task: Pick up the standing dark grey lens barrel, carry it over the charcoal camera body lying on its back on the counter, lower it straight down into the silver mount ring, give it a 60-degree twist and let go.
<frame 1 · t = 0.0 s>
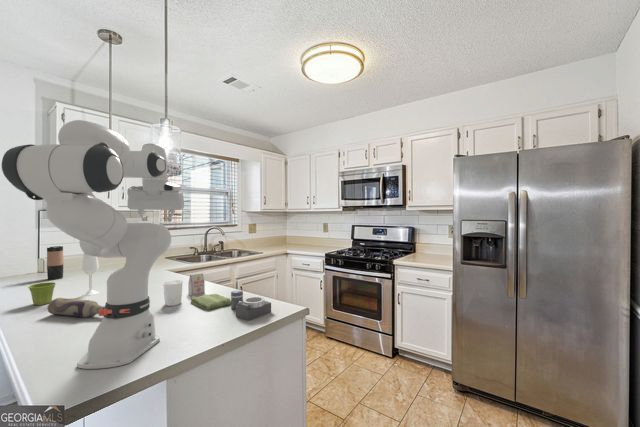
hand: (157, 220, 116), 39 cm above the counter, tool pointing down, fingers open, 8 cm apart
champagne flute: (90, 294, 149), on the counter
white cup: (173, 304, 133), on the counter
washcloth: (210, 304, 134), on the counter
lens: (237, 307, 128), on the counter
plant pot: (42, 303, 134), on the counter
travel mug: (55, 279, 182), on the counter
camera body: (253, 314, 120), on the counter
decorative bottle: (77, 317, 118), on the counter
white food carton: (196, 293, 150), on the counter
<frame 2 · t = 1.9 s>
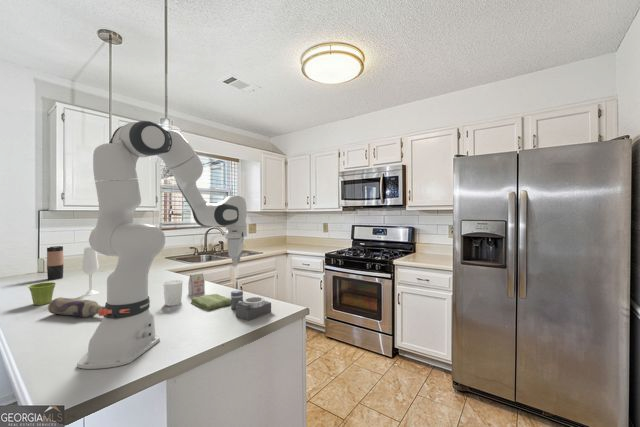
hand: (236, 263, 128), 19 cm above the counter, tool pointing down, fingers open, 8 cm apart
nothing on the counter moved.
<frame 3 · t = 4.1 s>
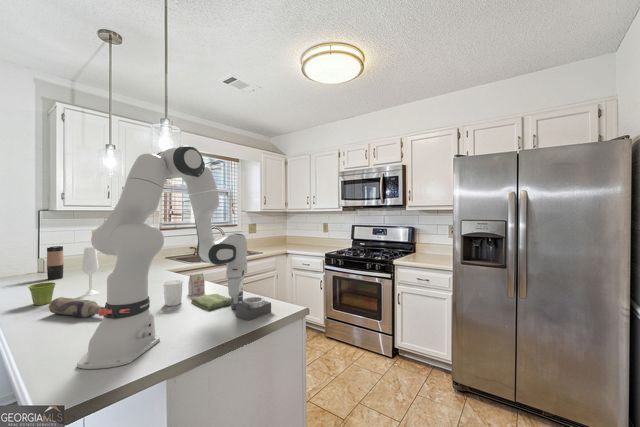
hand: (237, 300, 128), 3 cm above the counter, tool pointing down, fingers closed on lens, 5 cm apart
lens: (237, 307, 128), on the counter, touching gripper
everything else where it was.
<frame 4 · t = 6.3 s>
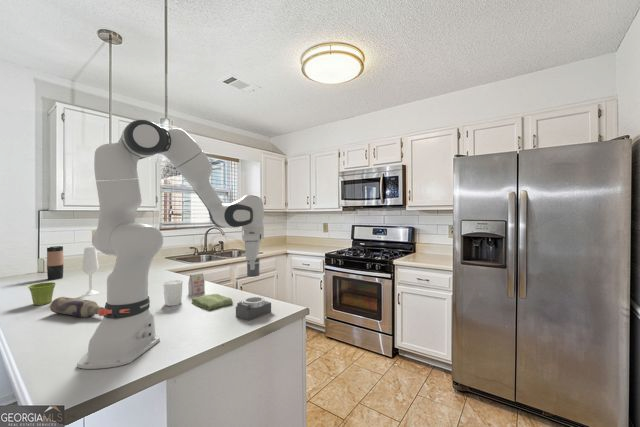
hand: (253, 267, 120), 19 cm above the counter, tool pointing down, fingers closed on lens, 5 cm apart
lens: (253, 275, 120), point 16 cm above the counter, touching gripper
everything else where it was.
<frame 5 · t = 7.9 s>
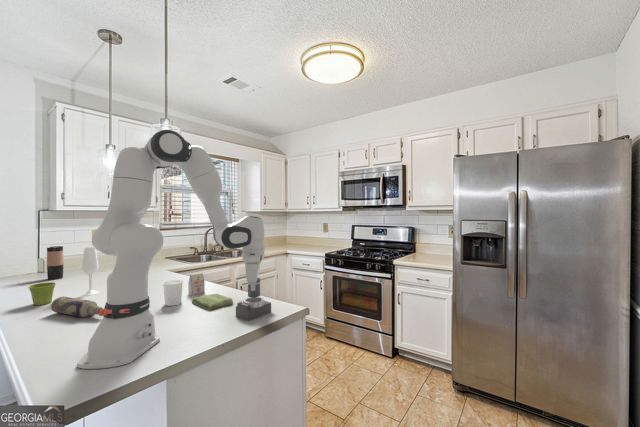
hand: (253, 288, 120), 11 cm above the counter, tool pointing down, fingers closed on lens, 5 cm apart
lens: (254, 295, 120), point 8 cm above the counter, touching gripper
everything else where it was.
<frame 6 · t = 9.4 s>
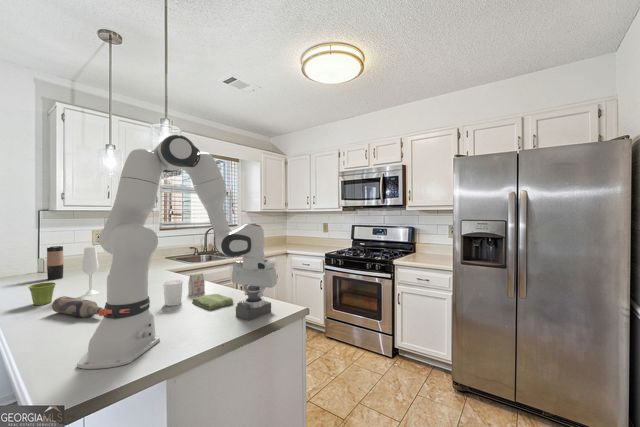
hand: (253, 295, 120), 8 cm above the counter, tool pointing down, fingers closed on lens, 5 cm apart
lens: (254, 303, 120), point 4 cm above the counter, touching gripper
when the fingers open (8 cm above the counter, at t = 9.4 s): lens stays where it is, resting on camera body.
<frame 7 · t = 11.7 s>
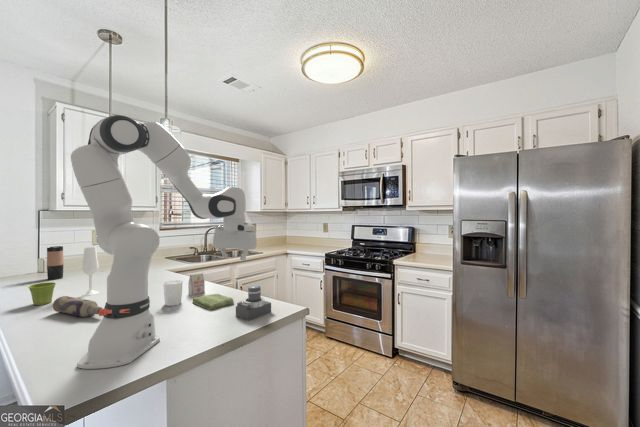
hand: (233, 259, 121), 23 cm above the counter, tool pointing down, fingers open, 8 cm apart
lens: (254, 304, 120), point 4 cm above the counter, touching camera body
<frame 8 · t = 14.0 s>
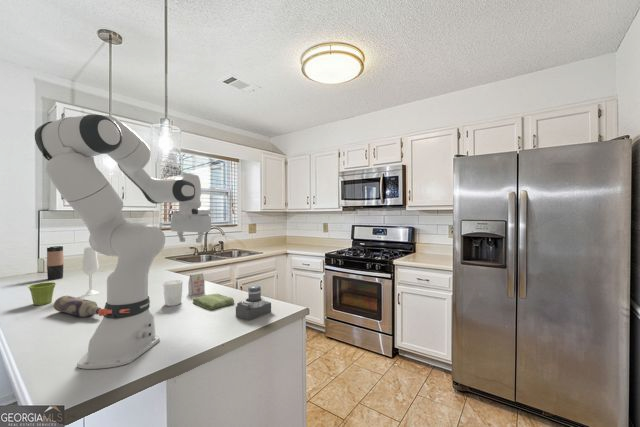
hand: (190, 242, 126), 29 cm above the counter, tool pointing down, fingers open, 8 cm apart
at the end: lens 0.4 cm off-centre on the camera body, point 4.1 cm above the camera body's base; lens tilted 2°; the gripper is holding nothing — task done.
